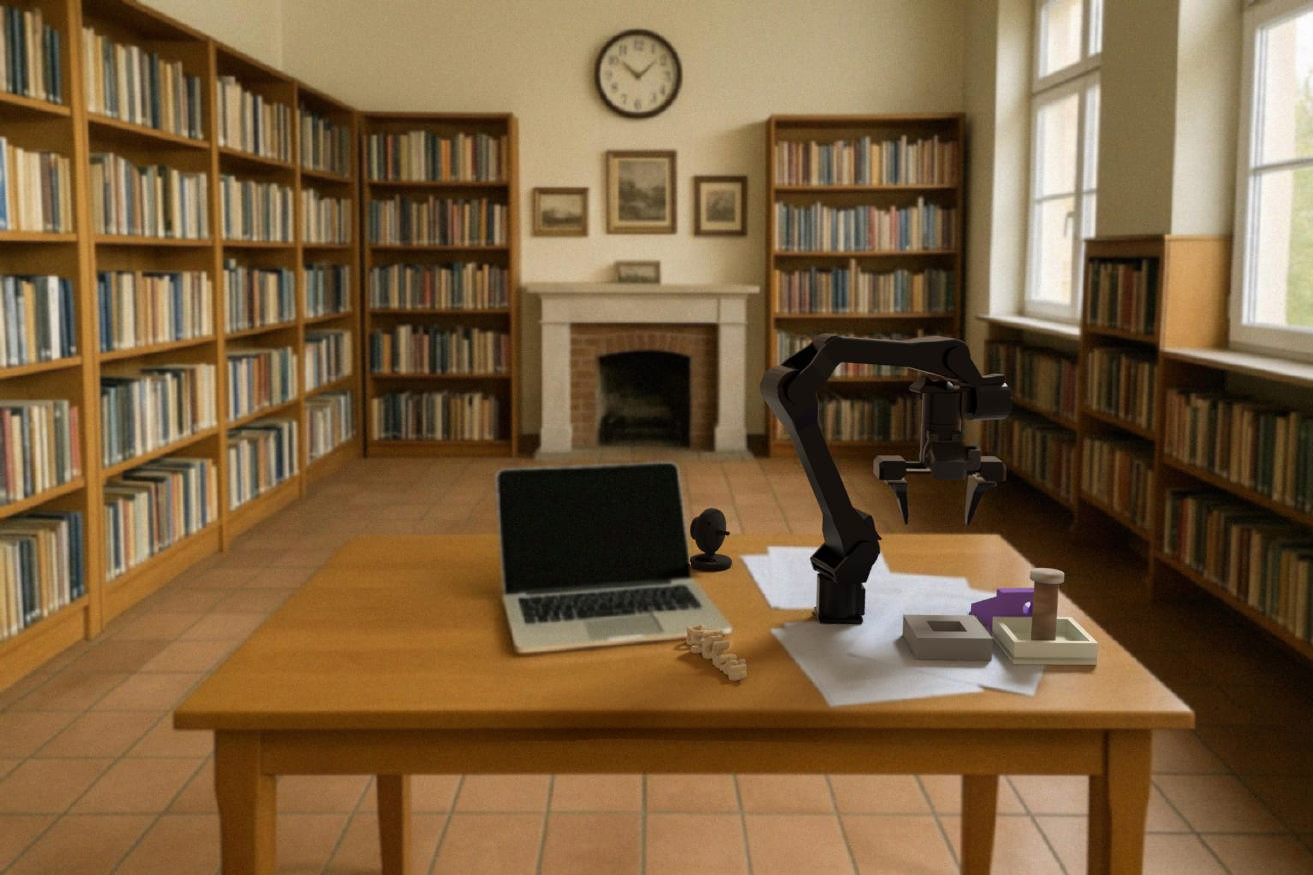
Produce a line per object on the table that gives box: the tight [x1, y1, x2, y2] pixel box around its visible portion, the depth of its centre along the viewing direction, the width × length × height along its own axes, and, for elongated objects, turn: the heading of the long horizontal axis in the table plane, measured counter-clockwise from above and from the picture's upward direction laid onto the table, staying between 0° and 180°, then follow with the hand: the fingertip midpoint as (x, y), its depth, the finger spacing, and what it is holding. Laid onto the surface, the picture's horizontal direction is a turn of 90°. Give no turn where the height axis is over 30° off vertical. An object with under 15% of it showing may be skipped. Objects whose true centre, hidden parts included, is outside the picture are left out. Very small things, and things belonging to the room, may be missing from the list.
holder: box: [902, 614, 994, 661], centre depth 169 cm, size 10×10×3 cm
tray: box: [991, 616, 1099, 666], centre depth 167 cm, size 11×11×3 cm
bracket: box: [970, 587, 1034, 631], centre depth 179 cm, size 12×7×7 cm, turn 5°
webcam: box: [689, 507, 733, 572], centre depth 209 cm, size 8×8×10 cm
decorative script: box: [686, 624, 747, 682], centre depth 163 cm, size 17×4×3 cm, turn 24°
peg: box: [1029, 567, 1065, 641], centre depth 167 cm, size 4×4×10 cm
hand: (936, 524), depth 184 cm, fingers open, 9 cm apart
